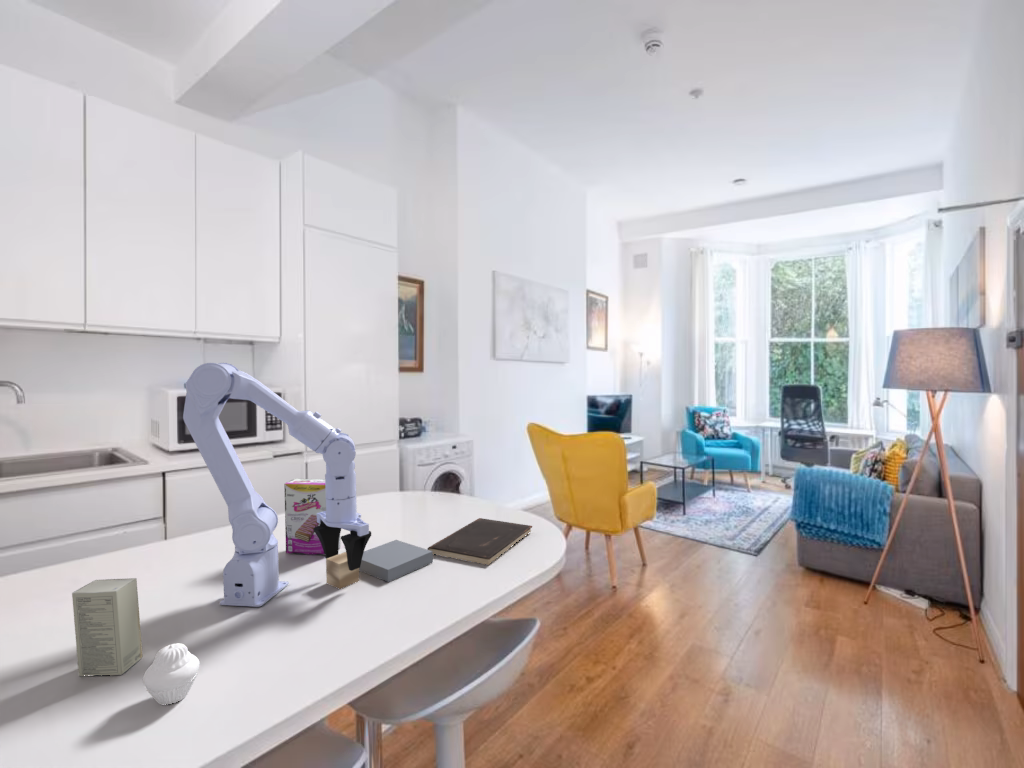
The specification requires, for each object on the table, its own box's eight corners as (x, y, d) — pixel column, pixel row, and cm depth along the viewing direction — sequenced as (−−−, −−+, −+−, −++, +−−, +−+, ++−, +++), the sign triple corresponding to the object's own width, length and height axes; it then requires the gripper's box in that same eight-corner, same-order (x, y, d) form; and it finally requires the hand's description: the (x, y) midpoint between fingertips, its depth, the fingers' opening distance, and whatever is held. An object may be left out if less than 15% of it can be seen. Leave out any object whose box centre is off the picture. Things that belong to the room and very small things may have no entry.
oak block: (359, 581, 100) (358, 556, 100) (339, 589, 96) (339, 564, 96) (345, 575, 102) (345, 551, 102) (326, 583, 99) (325, 558, 99)
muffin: (211, 686, 68) (210, 635, 67) (170, 717, 62) (168, 662, 61) (175, 679, 69) (173, 629, 69) (131, 709, 63) (129, 654, 63)
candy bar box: (284, 554, 114) (282, 483, 113) (296, 546, 119) (294, 478, 118) (331, 556, 113) (330, 484, 112) (341, 548, 118) (340, 478, 117)
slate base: (432, 562, 109) (432, 551, 109) (388, 582, 99) (388, 569, 99) (396, 550, 116) (396, 539, 116) (351, 567, 106) (351, 555, 106)
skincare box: (143, 658, 74) (140, 577, 74) (121, 676, 70) (117, 591, 69) (99, 659, 74) (96, 578, 73) (74, 678, 70) (70, 592, 69)
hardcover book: (532, 534, 128) (532, 525, 127) (489, 568, 107) (489, 558, 107) (477, 526, 135) (477, 517, 134) (427, 556, 114) (427, 546, 114)
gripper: (381, 497, 97) (382, 565, 98) (337, 486, 106) (339, 549, 107) (349, 505, 92) (352, 578, 92) (306, 494, 101) (308, 560, 101)
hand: (343, 564), depth 99 cm, fingers open, 7 cm apart
